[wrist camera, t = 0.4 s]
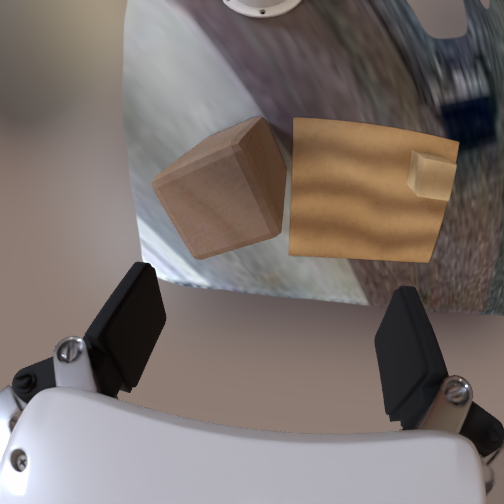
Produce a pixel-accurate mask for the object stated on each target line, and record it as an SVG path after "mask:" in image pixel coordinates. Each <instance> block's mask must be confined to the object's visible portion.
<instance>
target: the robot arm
mask: <svg viewBox="0 0 504 504" xmlns="http://www.w3.org/2000/svg"><path fill="white" fill-rule="evenodd" d="M223 1H224V3H225V4H226V5H227V6H228V7H230V8H231V9H232V10H234V11H235V12H238V13H240V14H242V15H245V16H248V17H255V18H269V17H275V16H279V15H282V14H285V13H287V12H289V11H291V10H292V9H294V8H295V7H296V6H297V5H298V4H299V3H300V2H301V1H302V0H230V1H228V0H223ZM262 12H265V14H261V13H262ZM165 322H166V313H165V309H164V305H163V302H162V297H161V293H160V289H159V285H158V280H157V276H156V271H155V268H154V267H152V266H151V264H150V263H144V262H135V263H134V264H133V266H132V267H131V268H130V270H129V271H128V272H127V274H126V275H125V277H124V278H123V279H122V281H121V282H120V283H119V285H118V286H117V288H116V289H115V290H114V292H113V293H112V295H111V296H110V298H109V299H108V300H107V302H106V303H105V305H104V306H103V308H102V309H101V310H100V312H99V314H98V315H97V316H96V318H95V319H94V321H93V322H92V324H91V325H90V327H89V329H88V330H87V332H86V333H85V336H84V337H83V339H82V338H80V337H77V336H69V337H66V338H64V339H62V340H61V341H60V342H59V343H58V344H57V345H56V346H55V349H54V351H53V357H51V358H48V359H46V360H43V361H41V362H38V363H35V364H33V365H30V366H28V367H25V368H23V369H21V370H19V371H18V373H16V375H15V377H14V379H13V382H12V387H11V386H10V385H8V386H6V387H5V388H4V389H2V390H1V391H0V504H504V428H503V426H502V424H501V422H500V421H499V420H497V419H496V418H495V417H493V416H492V415H491V414H489V413H488V412H486V411H485V410H484V409H483V408H481V407H480V406H479V405H477V404H476V403H474V402H473V401H472V399H473V390H472V388H471V385H470V384H469V383H468V381H466V379H464V378H463V377H460V376H456V375H453V376H449V375H448V372H447V369H446V365H445V362H444V359H443V356H442V353H441V350H440V347H439V345H438V342H437V339H436V336H435V333H434V331H433V328H432V326H431V323H430V322H429V319H428V317H427V314H426V312H425V309H424V307H423V304H422V302H421V300H420V297H419V295H418V293H417V290H416V288H415V287H411V286H400V287H399V289H396V290H395V291H394V294H393V296H392V299H391V301H390V304H389V306H388V308H387V311H386V313H385V315H384V318H383V320H382V322H381V324H380V327H379V329H378V331H377V333H376V336H375V348H376V354H377V359H378V365H379V371H380V378H381V384H382V391H383V398H384V405H385V412H386V414H387V415H389V417H390V422H392V421H401V426H402V427H401V429H400V430H399V431H391V432H378V433H353V434H312V433H291V432H278V431H267V430H257V429H249V428H241V427H234V426H228V425H222V424H215V423H210V422H204V421H200V420H195V419H190V418H185V417H181V416H177V415H172V414H168V413H164V412H160V411H157V410H153V409H149V408H146V407H142V406H139V405H135V404H132V403H128V402H125V401H122V400H119V399H118V397H117V394H118V392H119V390H122V391H125V392H128V393H130V392H131V390H132V387H136V386H137V384H138V382H139V380H140V377H141V375H142V373H143V371H144V368H145V366H146V364H147V362H148V359H149V357H150V355H151V353H152V351H153V348H154V346H155V344H156V342H157V340H158V337H159V335H160V333H161V331H162V329H163V327H164V325H165Z"/></svg>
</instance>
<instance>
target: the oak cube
mask: <svg viewBox="0 0 504 504" xmlns="http://www.w3.org/2000/svg"><path fill="white" fill-rule="evenodd" d="M456 167H457V165H456V164H454V163H453V162H451V161H450V160H448V159H447V158H445V157H444V156H441V155H437V154H432V153H427V152H422V151H416V150H412V155H411V162H410V168H409V174H408V180H407V186H408V187H409V188H410V189H411V190H412V191H413V192H414V193H415V194H416V195H417V196H418V197H424V198H431V199H438V200H444V201H449V199H450V195H451V190H452V186H453V182H454V177H455V172H456Z"/></svg>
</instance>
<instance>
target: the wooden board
mask: <svg viewBox="0 0 504 504" xmlns="http://www.w3.org/2000/svg"><path fill="white" fill-rule="evenodd" d="M458 147H459V142H458V141H454V140H450V139H446V138H442V137H438V136H433V135H429V134H424V133H419V132H414V131H409V130H404V129H398V128H392V127H386V126H380V125H373V124H366V123H358V122H349V121H339V120H328V119H315V118H298V117H293V160H292V192H291V217H290V238H289V255H297V256H315V257H333V258H351V259H369V260H388V261H406V262H425V263H429V260H430V258H431V255H432V252H433V249H434V246H435V243H436V240H437V236H438V233H439V230H440V226H441V223H442V220H443V216H444V212H445V209H446V205H447V201H444V200H438V199H431V198H424V197H418V196H417V195H416V194H415V193H414V192H413V191H412V190H411V189H410V188H409V187H408V186H407V180H408V174H409V168H410V162H411V155H412V150H416V151H422V152H427V153H432V154H437V155H441V156H444V157H445V158H447V159H448V160H450V161H451V162H453V163H454V164H456V159H457V153H458Z"/></svg>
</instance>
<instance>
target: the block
mask: <svg viewBox="0 0 504 504" xmlns="http://www.w3.org/2000/svg"><path fill="white" fill-rule="evenodd" d="M286 173H287V168H286V166H285V163H284V161H283V158H282V156H281V154H280V151H279V149H278V147H277V144H276V142H275V140H274V137H273V135H272V133H271V130H270V128H269V126H268V124H267V121H266V120H265V119H264V118H263V117H262V116H256V117H254V118H251V119H249V120H247V121H244V122H242V123H239V124H237V125H235V126H232V127H230V128H228V129H225V130H223V131H221V132H218V133H216V134H214V135H212V136H210V137H208V138H206V139H205V140H203V141H202V142H201V143H199V144H198V145H196V146H195V147H194V148H192V149H191V150H189V151H188V152H187V153H185V154H184V155H183V156H181V157H180V158H179V159H177V160H176V161H175V162H173V163H172V164H171V165H169V166H168V167H167V168H166V169H164V170H163V171H162V172H160V173H159V174H158V175H157V176H156V177H155V179H154V180H153V182H152V186H153V190H154V192H155V194H156V196H157V197H158V199H159V201H160V203H161V204H162V206H163V208H164V209H165V211H166V213H167V215H168V216H169V218H170V220H171V221H172V223H173V225H174V226H175V228H176V230H177V231H178V233H179V235H180V236H181V238H182V240H183V241H184V243H185V245H186V246H187V248H188V250H189V251H190V253H191V255H192V256H193V257H194V258H195V259H199V260H202V259H205V258H208V257H212V256H215V255H218V254H222V253H225V252H228V251H231V250H235V249H238V248H241V247H245V246H248V245H251V244H255V243H258V242H261V241H265V240H268V239H271V238H274V237H276V236H277V235H279V234H280V233H281V229H282V218H283V208H284V196H285V185H286Z"/></svg>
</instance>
